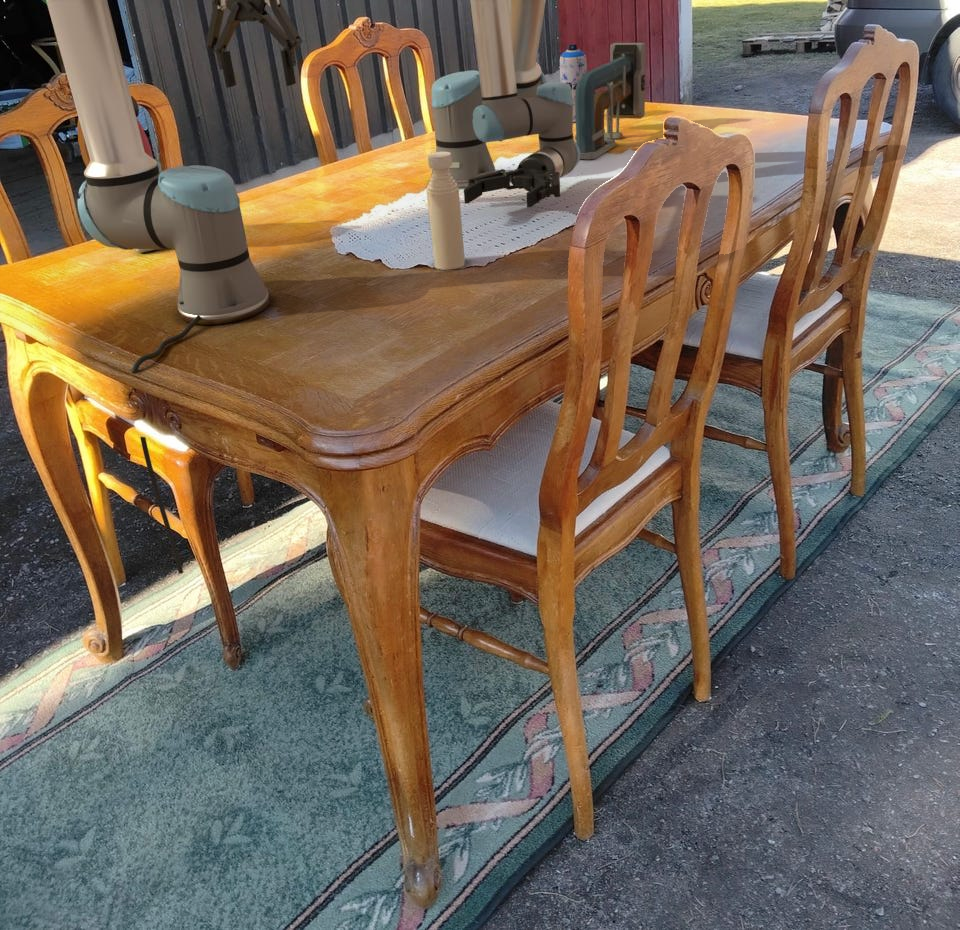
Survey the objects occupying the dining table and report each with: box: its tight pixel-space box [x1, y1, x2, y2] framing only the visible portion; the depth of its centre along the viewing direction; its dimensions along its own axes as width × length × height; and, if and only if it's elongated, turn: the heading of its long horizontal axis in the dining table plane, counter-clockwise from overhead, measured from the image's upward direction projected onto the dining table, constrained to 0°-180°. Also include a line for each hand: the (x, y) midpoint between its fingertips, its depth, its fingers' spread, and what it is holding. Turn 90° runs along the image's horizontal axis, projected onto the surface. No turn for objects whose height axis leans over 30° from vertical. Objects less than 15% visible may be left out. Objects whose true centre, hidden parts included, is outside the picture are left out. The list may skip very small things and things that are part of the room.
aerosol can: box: [559, 43, 588, 123], centre depth 273 cm, size 8×8×20 cm
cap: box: [427, 151, 452, 170], centre depth 168 cm, size 4×4×2 cm
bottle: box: [426, 168, 466, 271], centre depth 172 cm, size 6×6×19 cm
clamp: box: [574, 42, 646, 160], centre depth 245 cm, size 35×9×21 cm, turn 151°
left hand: (261, 85), depth 196 cm, fingers open, 13 cm apart
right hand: (496, 198), depth 189 cm, fingers open, 13 cm apart
